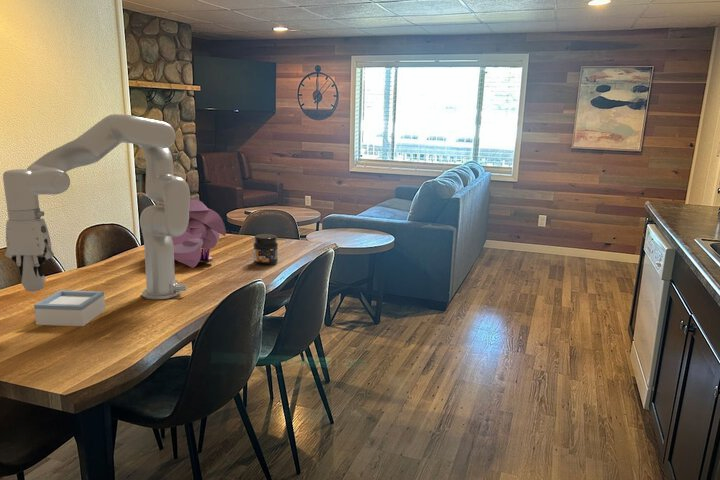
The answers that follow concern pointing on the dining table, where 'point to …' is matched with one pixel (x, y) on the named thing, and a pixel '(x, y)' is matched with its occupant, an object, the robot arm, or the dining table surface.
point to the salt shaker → (31, 276)
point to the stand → (69, 308)
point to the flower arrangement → (198, 235)
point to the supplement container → (265, 249)
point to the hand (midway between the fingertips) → (32, 278)
